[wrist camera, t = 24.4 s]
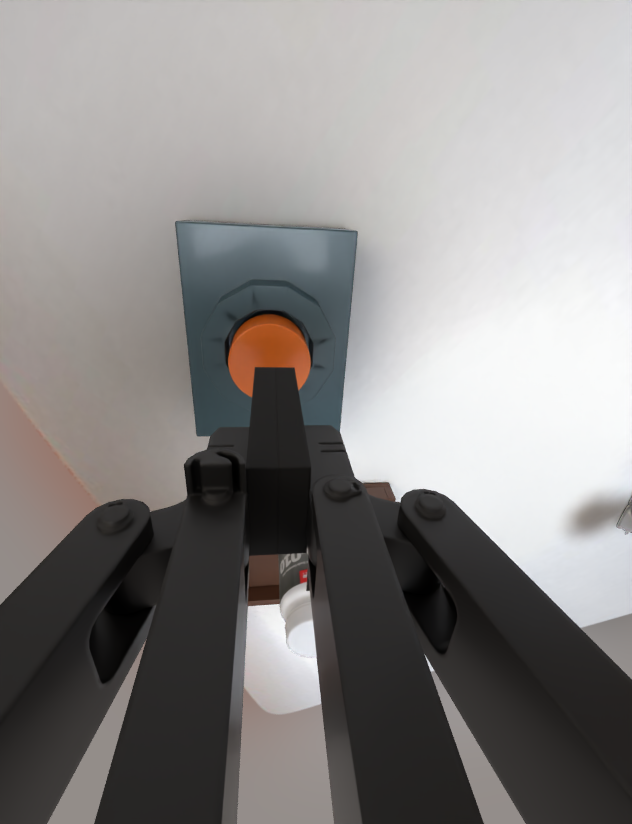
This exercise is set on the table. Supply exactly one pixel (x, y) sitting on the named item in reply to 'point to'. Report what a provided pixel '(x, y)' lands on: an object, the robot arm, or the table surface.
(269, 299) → the console
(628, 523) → the robot toy
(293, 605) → the pill bottle
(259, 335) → the console button
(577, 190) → the table surface
